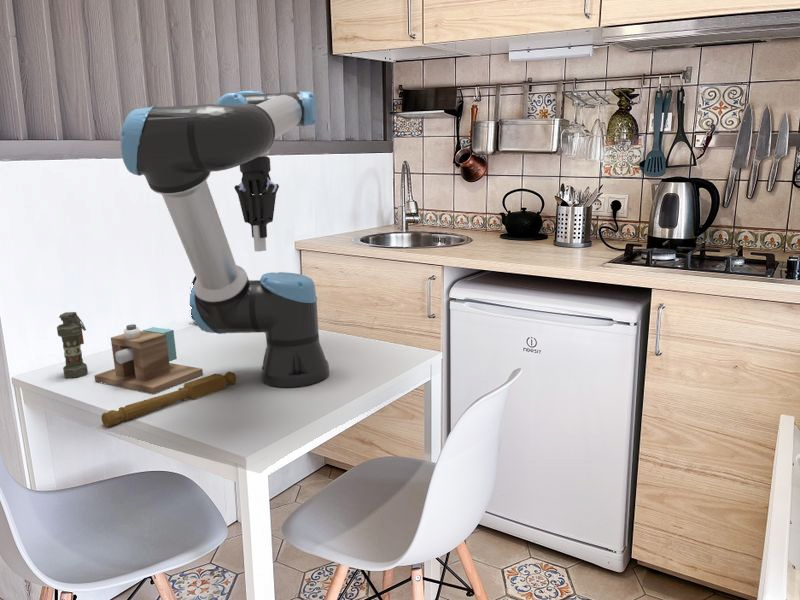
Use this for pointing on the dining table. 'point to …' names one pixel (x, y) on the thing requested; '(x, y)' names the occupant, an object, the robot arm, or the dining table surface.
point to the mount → (146, 365)
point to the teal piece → (128, 354)
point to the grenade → (72, 344)
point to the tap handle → (170, 398)
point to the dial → (131, 332)
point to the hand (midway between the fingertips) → (260, 250)
